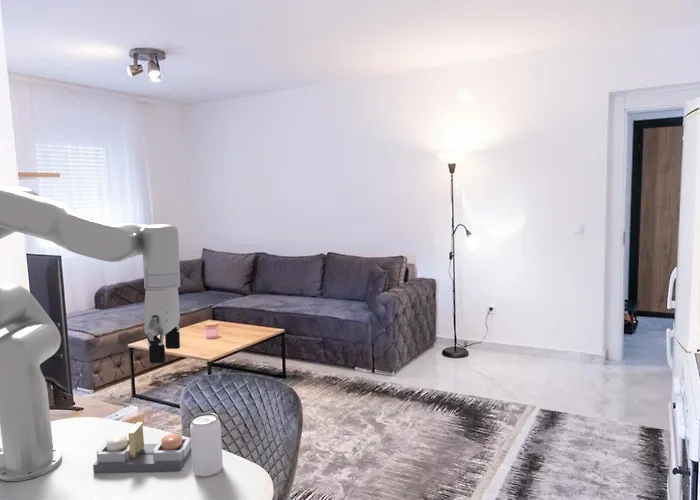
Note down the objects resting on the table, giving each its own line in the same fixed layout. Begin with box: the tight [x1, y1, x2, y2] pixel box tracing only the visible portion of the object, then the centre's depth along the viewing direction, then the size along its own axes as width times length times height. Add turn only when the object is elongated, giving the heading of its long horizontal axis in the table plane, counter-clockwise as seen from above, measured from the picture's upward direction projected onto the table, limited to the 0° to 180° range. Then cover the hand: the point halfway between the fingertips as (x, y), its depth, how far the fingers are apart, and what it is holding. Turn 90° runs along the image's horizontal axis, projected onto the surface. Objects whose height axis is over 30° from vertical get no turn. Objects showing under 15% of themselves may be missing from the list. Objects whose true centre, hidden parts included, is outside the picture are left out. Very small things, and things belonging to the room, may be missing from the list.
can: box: [189, 412, 224, 478], centre depth 116 cm, size 6×6×12 cm
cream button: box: [105, 434, 128, 452], centre depth 120 cm, size 4×4×2 cm
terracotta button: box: [160, 433, 183, 450], centre depth 120 cm, size 4×4×2 cm
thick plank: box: [128, 422, 145, 458], centre depth 120 cm, size 1×5×6 cm, turn 0°
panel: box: [92, 436, 192, 475], centre depth 120 cm, size 20×9×4 cm, turn 90°
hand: (165, 355), depth 118 cm, fingers open, 9 cm apart
